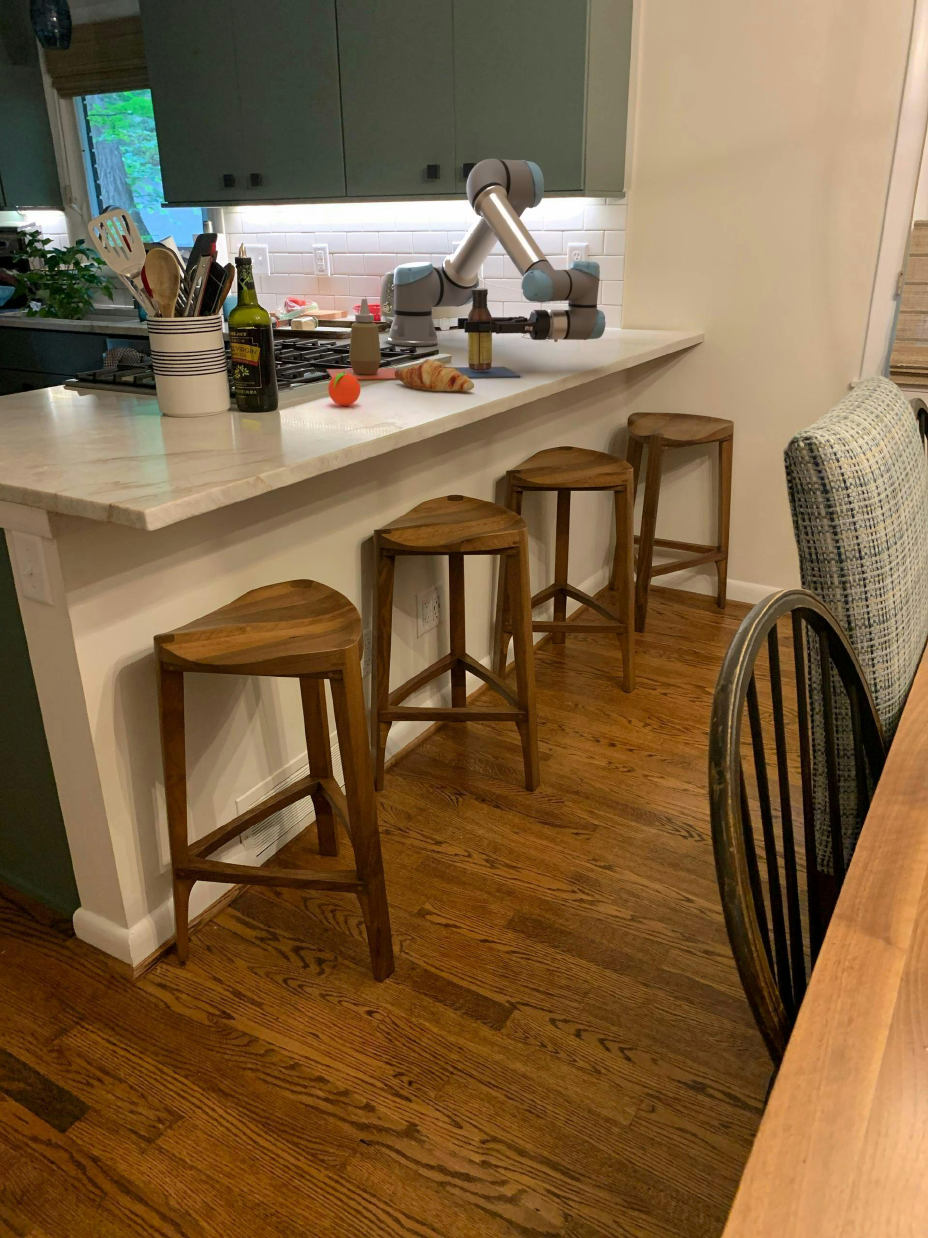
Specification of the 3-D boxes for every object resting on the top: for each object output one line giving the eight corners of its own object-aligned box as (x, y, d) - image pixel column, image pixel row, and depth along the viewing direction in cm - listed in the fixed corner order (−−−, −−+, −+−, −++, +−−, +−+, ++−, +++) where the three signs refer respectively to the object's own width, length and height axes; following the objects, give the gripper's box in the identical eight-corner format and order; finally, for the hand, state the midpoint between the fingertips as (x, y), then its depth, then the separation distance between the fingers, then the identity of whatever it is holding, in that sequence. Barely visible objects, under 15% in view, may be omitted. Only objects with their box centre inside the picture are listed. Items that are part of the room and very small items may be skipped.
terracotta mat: (326, 370, 240) (326, 369, 240) (394, 369, 245) (394, 368, 245) (333, 380, 228) (333, 378, 228) (405, 379, 233) (405, 377, 232)
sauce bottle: (492, 367, 246) (495, 287, 238) (490, 371, 240) (493, 290, 232) (467, 366, 247) (470, 286, 238) (465, 370, 241) (467, 289, 233)
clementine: (349, 410, 197) (349, 376, 194) (320, 407, 199) (319, 373, 196) (366, 404, 204) (365, 370, 201) (337, 400, 206) (336, 368, 203)
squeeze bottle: (343, 374, 234) (341, 298, 227) (358, 369, 241) (357, 296, 234) (372, 377, 232) (371, 301, 224) (386, 372, 238) (386, 298, 231)
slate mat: (439, 369, 248) (439, 367, 248) (503, 368, 252) (503, 366, 252) (452, 378, 236) (452, 376, 235) (519, 377, 240) (519, 375, 240)
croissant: (477, 405, 222) (485, 373, 222) (463, 391, 213) (471, 357, 213) (399, 394, 230) (407, 362, 230) (382, 380, 220) (390, 347, 220)
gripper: (558, 344, 237) (470, 345, 231) (533, 334, 253) (451, 335, 248) (560, 314, 233) (471, 314, 228) (535, 305, 250) (452, 305, 245)
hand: (461, 325), depth 238 cm, fingers closed on sauce bottle, 6 cm apart
